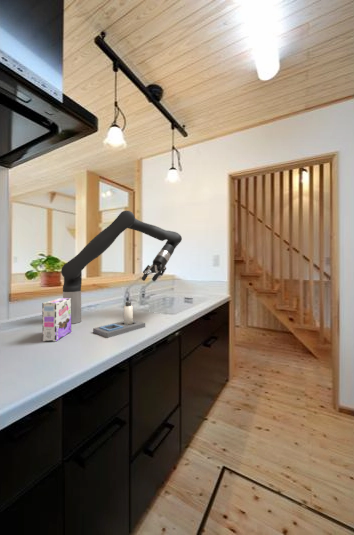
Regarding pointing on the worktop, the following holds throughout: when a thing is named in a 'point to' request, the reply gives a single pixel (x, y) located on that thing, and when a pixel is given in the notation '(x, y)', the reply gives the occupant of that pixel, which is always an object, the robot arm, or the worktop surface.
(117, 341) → the worktop surface
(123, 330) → the grey socket board
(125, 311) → the cream upright block
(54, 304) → the candy box
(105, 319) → the worktop surface
